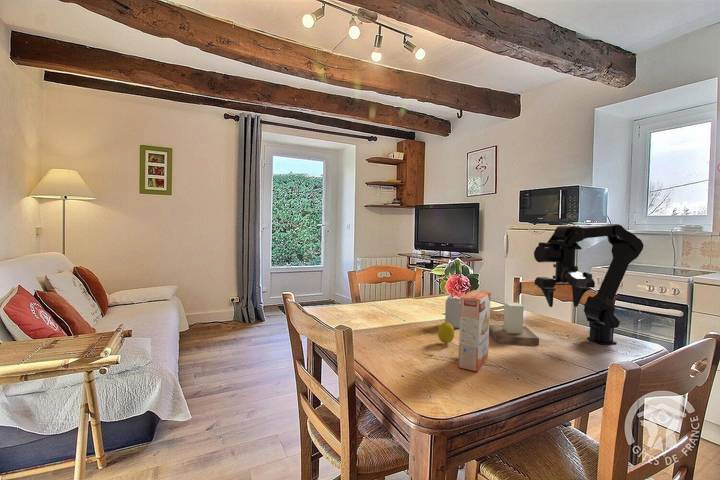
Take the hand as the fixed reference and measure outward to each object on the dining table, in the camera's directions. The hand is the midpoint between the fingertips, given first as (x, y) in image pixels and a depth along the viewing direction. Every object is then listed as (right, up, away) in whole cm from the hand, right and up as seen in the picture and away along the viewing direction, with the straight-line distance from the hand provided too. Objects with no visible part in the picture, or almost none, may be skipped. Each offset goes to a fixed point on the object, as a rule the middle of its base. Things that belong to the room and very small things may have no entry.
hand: (563, 306), depth 122 cm
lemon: (-41, -13, -1) cm, 43 cm away
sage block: (-15, -10, +7) cm, 19 cm away
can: (-32, -12, +20) cm, 40 cm away
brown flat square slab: (-15, -13, +7) cm, 21 cm away
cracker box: (-36, -14, -17) cm, 42 cm away
